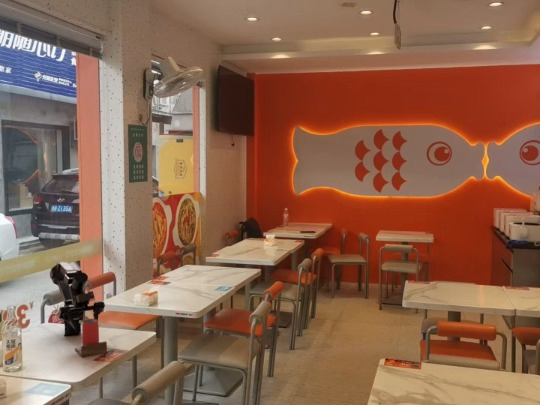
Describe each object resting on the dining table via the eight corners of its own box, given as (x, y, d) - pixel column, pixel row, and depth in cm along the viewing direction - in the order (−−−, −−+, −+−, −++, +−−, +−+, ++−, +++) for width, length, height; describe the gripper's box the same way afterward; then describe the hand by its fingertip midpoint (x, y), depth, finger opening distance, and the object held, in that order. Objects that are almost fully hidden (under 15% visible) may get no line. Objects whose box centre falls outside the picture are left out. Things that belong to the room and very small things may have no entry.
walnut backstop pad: (74, 349, 231) (74, 339, 231) (98, 345, 237) (98, 335, 237) (82, 357, 222) (82, 346, 222) (106, 352, 228) (106, 342, 228)
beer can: (97, 345, 234) (96, 317, 233) (100, 350, 228) (100, 321, 227) (81, 348, 231) (80, 319, 230) (84, 352, 225) (83, 324, 224)
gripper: (59, 288, 232) (66, 320, 223) (103, 282, 242) (112, 313, 234) (54, 302, 239) (62, 334, 231) (98, 296, 249) (106, 326, 241)
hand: (86, 326), depth 234 cm, fingers open, 9 cm apart
